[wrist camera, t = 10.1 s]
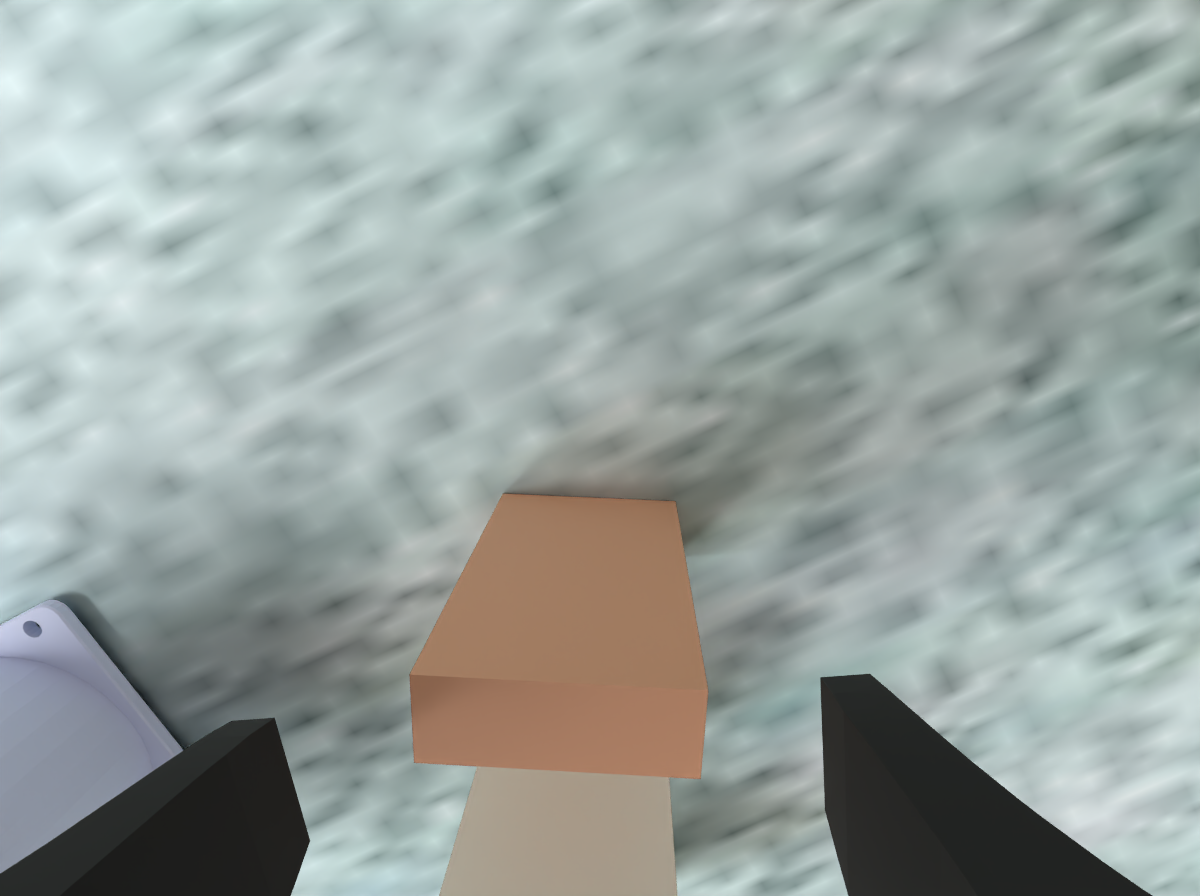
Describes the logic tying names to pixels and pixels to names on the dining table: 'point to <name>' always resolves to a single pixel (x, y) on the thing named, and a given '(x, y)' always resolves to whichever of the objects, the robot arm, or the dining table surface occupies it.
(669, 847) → the ivory domino
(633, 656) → the rust domino
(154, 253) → the dining table surface
